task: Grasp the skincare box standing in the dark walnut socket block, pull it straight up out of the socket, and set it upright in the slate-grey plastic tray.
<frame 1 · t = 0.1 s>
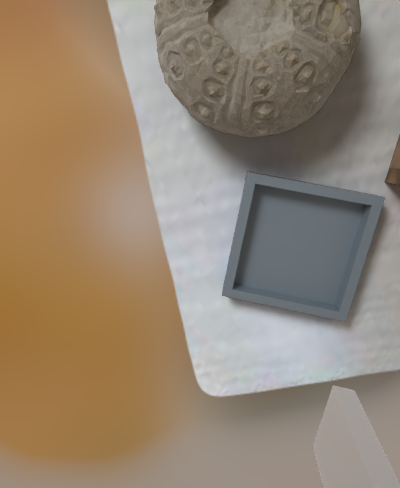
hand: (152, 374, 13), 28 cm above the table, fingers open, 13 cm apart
tray: (295, 244, 39), on the table
decorative shell: (252, 50, 35), on the table
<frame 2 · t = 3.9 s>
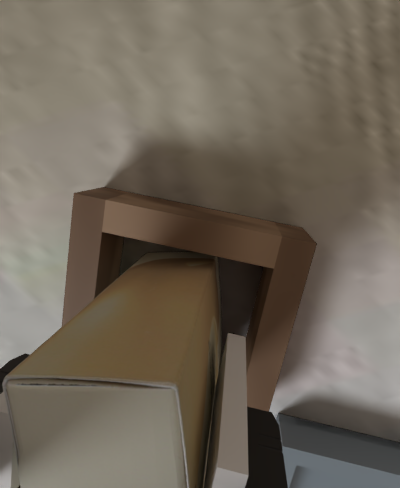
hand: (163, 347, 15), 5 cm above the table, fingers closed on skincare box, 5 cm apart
skincare box: (184, 298, 20), resting in socket block, touching gripper
socket block: (183, 299, 20), on the table
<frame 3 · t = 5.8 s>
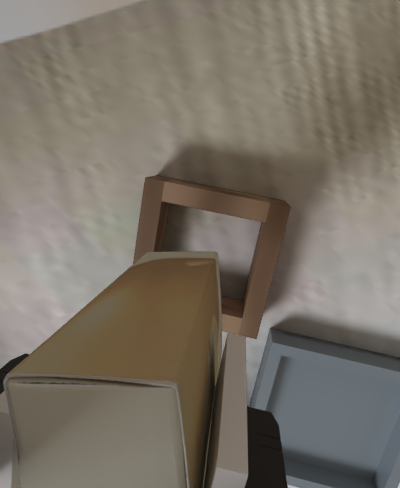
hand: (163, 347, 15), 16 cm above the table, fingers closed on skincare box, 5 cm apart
skincare box: (184, 297, 20), point 11 cm above the table, touching gripper
tray: (325, 410, 33), on the table
socket block: (207, 249, 30), on the table
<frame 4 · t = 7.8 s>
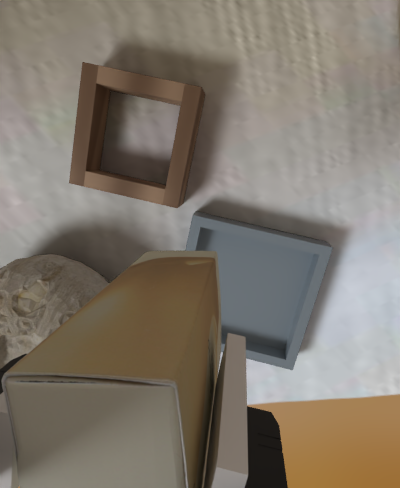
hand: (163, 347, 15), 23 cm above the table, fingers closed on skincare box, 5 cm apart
skincare box: (184, 297, 20), point 17 cm above the table, touching gripper
tray: (244, 286, 38), on the table
decorative shell: (73, 316, 42), on the table
socket block: (142, 139, 35), on the table
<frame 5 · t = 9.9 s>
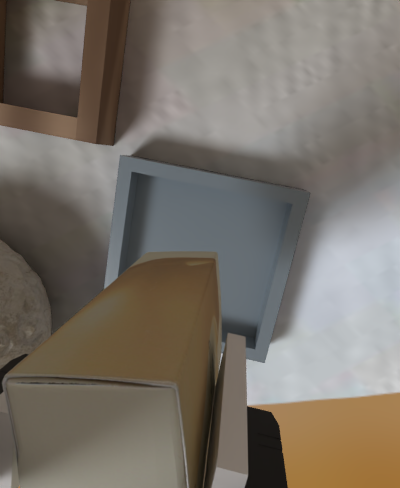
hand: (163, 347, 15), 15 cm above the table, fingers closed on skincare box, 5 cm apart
skincare box: (184, 297, 20), point 9 cm above the table, touching gripper
tray: (199, 255, 29), on the table
socket block: (53, 59, 26), on the table
when the fingers open (7 cm above the table, at t = 11.9 s): skincare box drops 1 cm, resting on tray.
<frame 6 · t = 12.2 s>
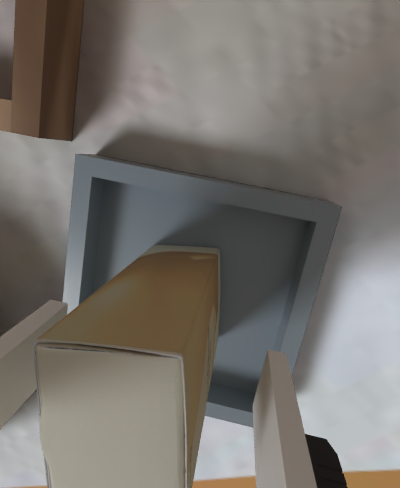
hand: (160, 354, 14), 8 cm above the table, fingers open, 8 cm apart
skincare box: (186, 289, 21), resting on tray
tray: (188, 287, 22), on the table
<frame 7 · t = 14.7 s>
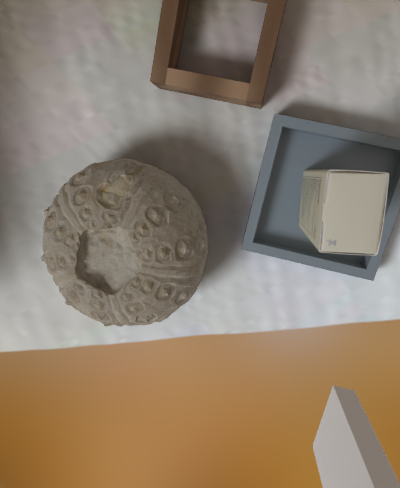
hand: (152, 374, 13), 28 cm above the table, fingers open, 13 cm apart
skincare box: (320, 197, 37), resting on tray
tray: (321, 197, 37), on the table
decorative shell: (140, 235, 41), on the table
socket block: (220, 41, 35), on the table
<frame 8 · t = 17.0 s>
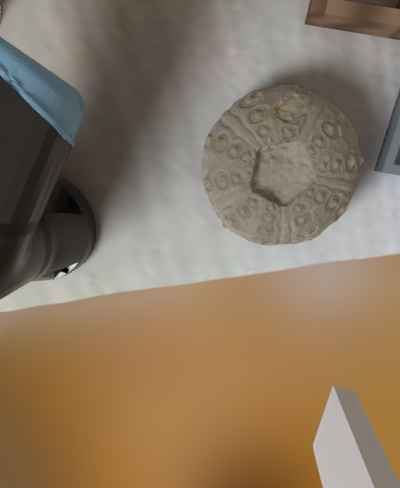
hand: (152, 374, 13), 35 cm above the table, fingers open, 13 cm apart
decorative shell: (274, 168, 44), on the table
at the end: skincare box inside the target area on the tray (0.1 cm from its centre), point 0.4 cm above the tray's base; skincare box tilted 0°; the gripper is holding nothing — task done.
